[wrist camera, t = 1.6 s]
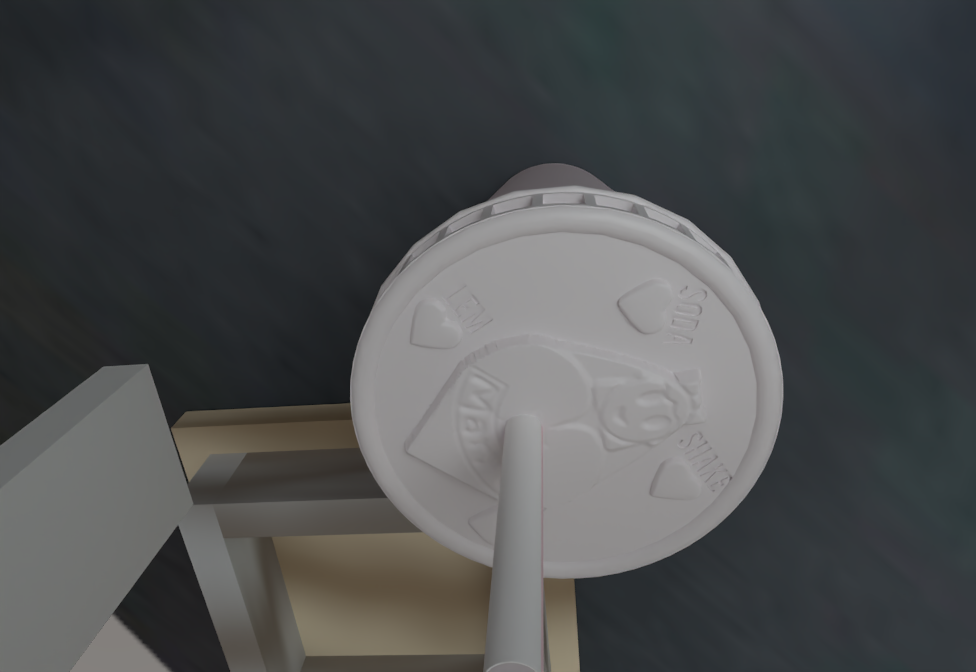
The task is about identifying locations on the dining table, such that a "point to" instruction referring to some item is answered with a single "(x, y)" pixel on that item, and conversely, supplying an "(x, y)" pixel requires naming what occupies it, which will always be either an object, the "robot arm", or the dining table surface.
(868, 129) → the dining table surface
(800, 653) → the dining table surface
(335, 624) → the tray
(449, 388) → the smoothie
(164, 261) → the dining table surface
